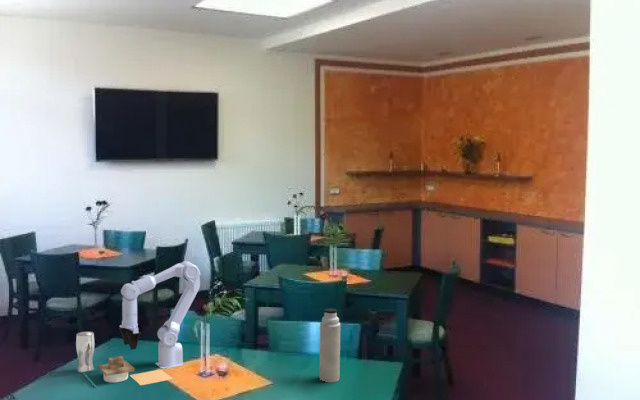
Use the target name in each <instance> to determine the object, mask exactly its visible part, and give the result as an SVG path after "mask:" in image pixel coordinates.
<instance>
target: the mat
mask: <svg viewBox="0 0 640 400" xmlns="http://www.w3.org/2000/svg"><path fill="white" fill-rule="evenodd" d="M129 377H131V378H132V379H133V380H134V381H135V382H137V384H138V385H139V386H144V385H145V386H146V385H150V384H154V383H159V382H165V381H170V380H173V379H174V378H173V377H172V376H171V375H169V374H168V373H167V372H165V371H164V370H162V369H161V368H160V369H156V370H150V371H145V372H140V373H134V374H129Z"/></svg>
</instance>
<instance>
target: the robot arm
mask: <svg viewBox="0 0 640 400" xmlns="http://www.w3.org/2000/svg"><path fill="white" fill-rule="evenodd" d="M201 275H202V274H201V271H200V269H199V266H197V265H196V264H193V263H192V262H191V261H188V260H185V261H182V262H179V263H176V264H174V265H173V266H171V267H169V268H167V269H165V270H163V271H160V272H159V273H157V274H155V275H146V274H144V275H143V276H142V277H141V278H139V279H137V280H132V281H131V283H125V284H124V285H123V286H122V287H121V289H120V294H121V295H122V302H121V303H122V305H121V306H122V307H121V309H122V310H121V311H122V320H121V324H120V325H119V328H118V330H119V332H120V334H121V337H122V342H123V345H125V346H127V345H129V349H130V351H133V350H137V346H138V344H139V343H138V342H139V339H140V336H141V335H142V332H141V331H139V327H138V325H139V323H138V300H137V298H138V297H139V295H142V294H144V293H146V292H148V291H150V290H153V289H155V288H156V286H157V284H160V283H161V282H165V281H166V280H168V279H171V278H173V277H177V278H183V280H184V281H185V284H186V287H185V288H184V290H183V292H182V294H181V295H180V298H179V299H178V302H177V303H176V305H175V306H174V309H173V311H172V312H171V315H170V317H169V319H168V320H166V321H165V322H164V324H163V325H162V326H161V327H159V329H158V330H157V335H156V336H157V338H158V339H159V341H158V362H155V363H154V364H155V365H156V366H157V367H159V368H160V369H161V370H162V369H168V368H173V367H178V366H183V365H184V359H183V356H184V353H183V351H184V350H183V346H182V344H181V343H180V342H178V338H179V337H178V336H179V334H180V330H181V329H180V327H181V324H182V322H183V320H184V318H185V317H186V315H187V313H188V311H189V309H190V307H191V305H192V303H193V301H194V300H195V298H196V295H197V294H198V292H199V291H200V288H201Z"/></svg>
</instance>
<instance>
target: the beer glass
mask: <svg viewBox="0 0 640 400" xmlns="http://www.w3.org/2000/svg"><path fill="white" fill-rule="evenodd" d="M75 339H76V341H75V348H76V353H77V358H78V366H77V372H79V373H82V374H83V373H85V372H90V371H93V370H94V369H95V368H94V363H93V359H94V352H95V333H94V332H93V331H81V332H78V333H76V338H75Z"/></svg>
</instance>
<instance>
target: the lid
mask: <svg viewBox="0 0 640 400" xmlns="http://www.w3.org/2000/svg"><path fill="white" fill-rule="evenodd" d="M107 361H108V363H105V364H98V365H97V369H98V370H99V371H100V372H101V373H102V374H103V376H104V375H105V376H110V375H115V374H121V373H126V372H128V373H131V372H135V370H136V369H135V366H133V365H132V364H130V363H129V362H128V361H127V360H124V357H123V356H122V355H119V356H113V357H108V360H107Z"/></svg>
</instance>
